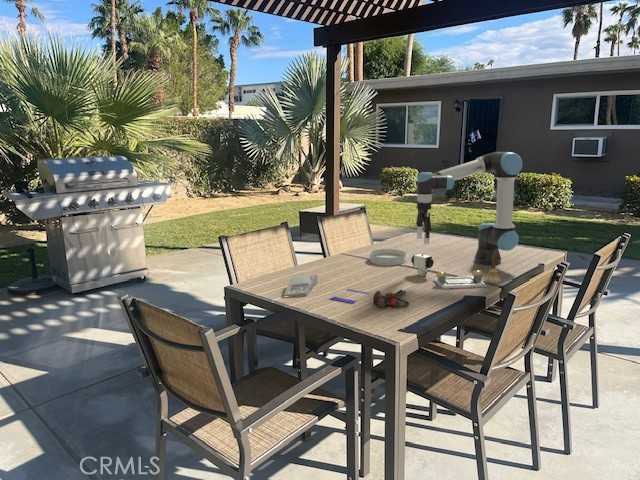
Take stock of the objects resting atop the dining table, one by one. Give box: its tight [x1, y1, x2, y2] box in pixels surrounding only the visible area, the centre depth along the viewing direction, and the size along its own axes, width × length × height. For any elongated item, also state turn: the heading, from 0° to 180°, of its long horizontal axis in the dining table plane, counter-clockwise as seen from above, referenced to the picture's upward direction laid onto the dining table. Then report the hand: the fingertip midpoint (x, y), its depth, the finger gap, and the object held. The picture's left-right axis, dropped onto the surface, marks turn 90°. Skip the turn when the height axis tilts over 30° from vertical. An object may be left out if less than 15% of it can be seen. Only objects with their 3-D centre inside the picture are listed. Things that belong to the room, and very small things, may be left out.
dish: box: [369, 248, 407, 266], centre depth 293 cm, size 22×22×5 cm
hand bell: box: [483, 251, 502, 284], centre depth 248 cm, size 8×8×16 cm
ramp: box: [283, 273, 318, 297], centre depth 241 cm, size 28×16×5 cm, turn 148°
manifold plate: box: [433, 269, 487, 290], centre depth 245 cm, size 23×14×7 cm, turn 94°
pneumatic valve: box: [410, 253, 435, 277], centre depth 261 cm, size 6×12×12 cm, turn 41°
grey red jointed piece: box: [372, 289, 410, 309], centre depth 221 cm, size 6×26×15 cm
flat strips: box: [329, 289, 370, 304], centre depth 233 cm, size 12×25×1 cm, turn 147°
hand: (422, 241), depth 258 cm, fingers open, 13 cm apart
